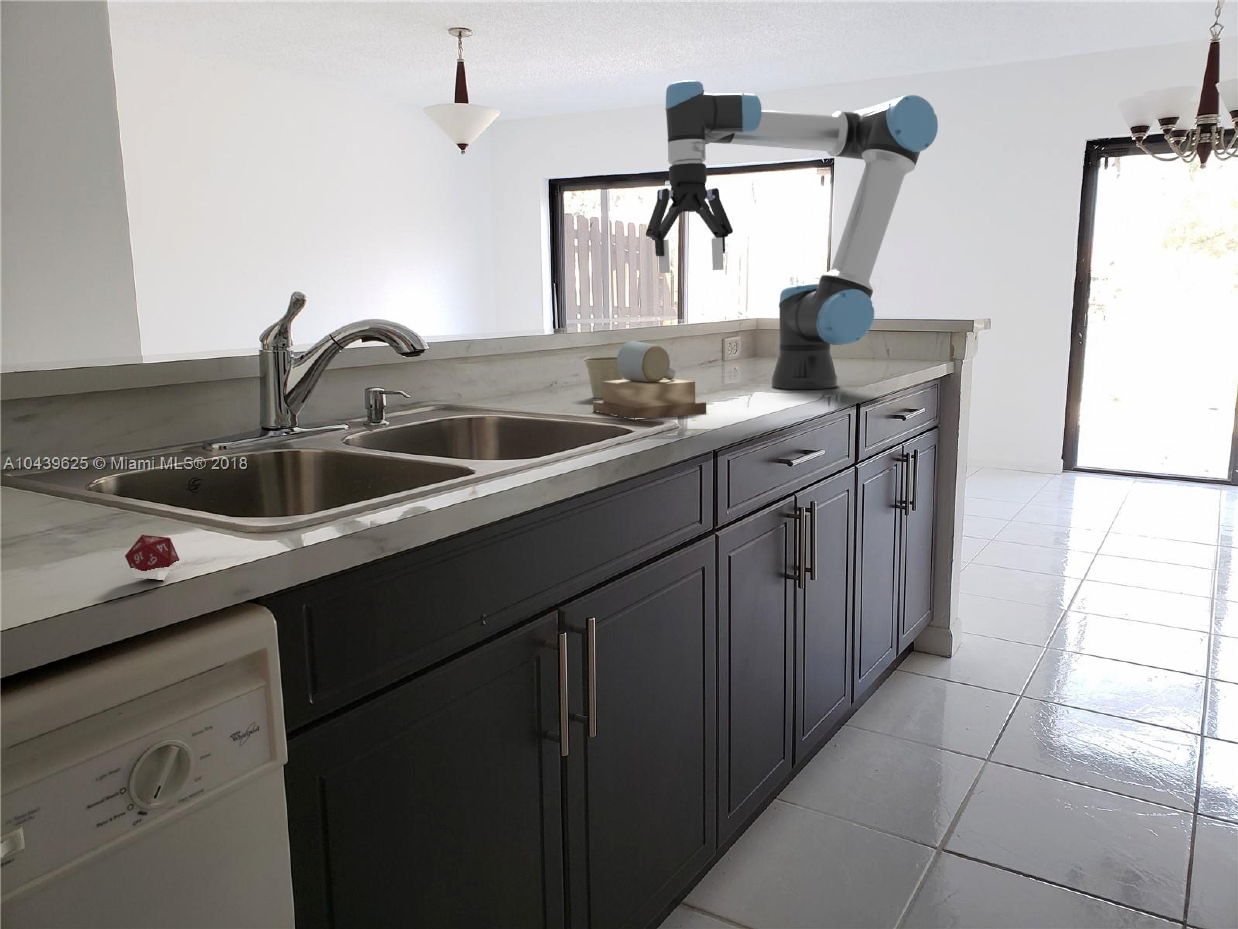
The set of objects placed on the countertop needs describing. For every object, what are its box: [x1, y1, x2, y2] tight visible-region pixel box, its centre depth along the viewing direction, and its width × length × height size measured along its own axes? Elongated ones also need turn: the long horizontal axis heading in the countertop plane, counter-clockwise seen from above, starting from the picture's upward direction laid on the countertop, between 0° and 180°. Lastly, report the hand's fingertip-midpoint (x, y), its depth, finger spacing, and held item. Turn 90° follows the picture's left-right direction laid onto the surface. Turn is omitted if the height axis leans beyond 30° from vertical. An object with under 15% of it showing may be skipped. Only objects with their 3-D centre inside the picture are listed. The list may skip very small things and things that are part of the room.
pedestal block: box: [602, 378, 696, 408], centre depth 182 cm, size 13×13×4 cm
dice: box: [124, 534, 180, 571], centre depth 82 cm, size 4×4×4 cm
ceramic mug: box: [616, 340, 676, 383], centre depth 181 cm, size 11×8×8 cm
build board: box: [592, 400, 707, 419], centre depth 182 cm, size 16×16×2 cm
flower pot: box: [583, 356, 623, 399], centre depth 208 cm, size 9×9×9 cm
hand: (691, 271), depth 193 cm, fingers open, 13 cm apart
